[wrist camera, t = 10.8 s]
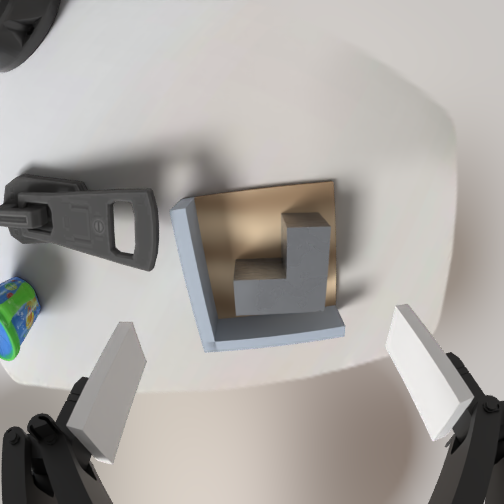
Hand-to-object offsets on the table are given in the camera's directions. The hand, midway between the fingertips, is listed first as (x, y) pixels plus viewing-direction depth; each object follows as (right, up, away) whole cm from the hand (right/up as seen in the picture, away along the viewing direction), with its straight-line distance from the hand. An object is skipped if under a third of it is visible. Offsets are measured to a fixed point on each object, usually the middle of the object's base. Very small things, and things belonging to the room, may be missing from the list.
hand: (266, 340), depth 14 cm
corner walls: (+1, +3, +19) cm, 20 cm away
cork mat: (+1, +4, +19) cm, 19 cm away
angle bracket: (+2, +4, +18) cm, 19 cm away
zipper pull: (-22, +10, +17) cm, 29 cm away
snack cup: (-37, -3, +22) cm, 43 cm away
